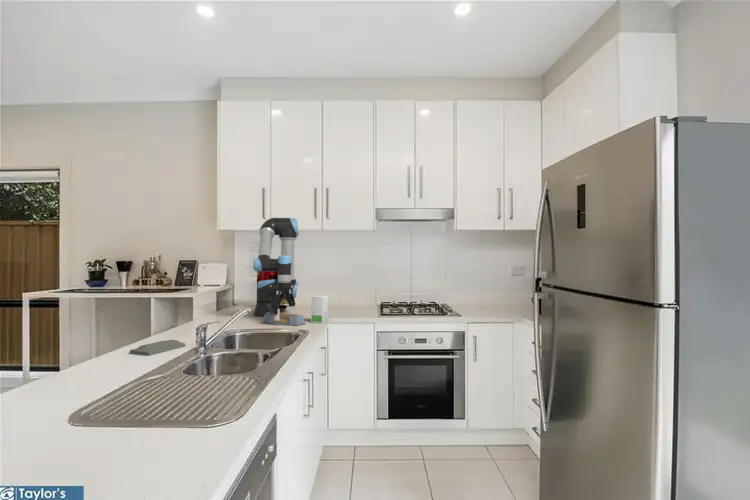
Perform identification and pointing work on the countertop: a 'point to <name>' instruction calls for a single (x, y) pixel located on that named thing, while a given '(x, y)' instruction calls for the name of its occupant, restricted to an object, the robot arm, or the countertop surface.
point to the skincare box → (319, 309)
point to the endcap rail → (292, 322)
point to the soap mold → (157, 347)
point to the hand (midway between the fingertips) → (283, 319)
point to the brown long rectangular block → (283, 318)
